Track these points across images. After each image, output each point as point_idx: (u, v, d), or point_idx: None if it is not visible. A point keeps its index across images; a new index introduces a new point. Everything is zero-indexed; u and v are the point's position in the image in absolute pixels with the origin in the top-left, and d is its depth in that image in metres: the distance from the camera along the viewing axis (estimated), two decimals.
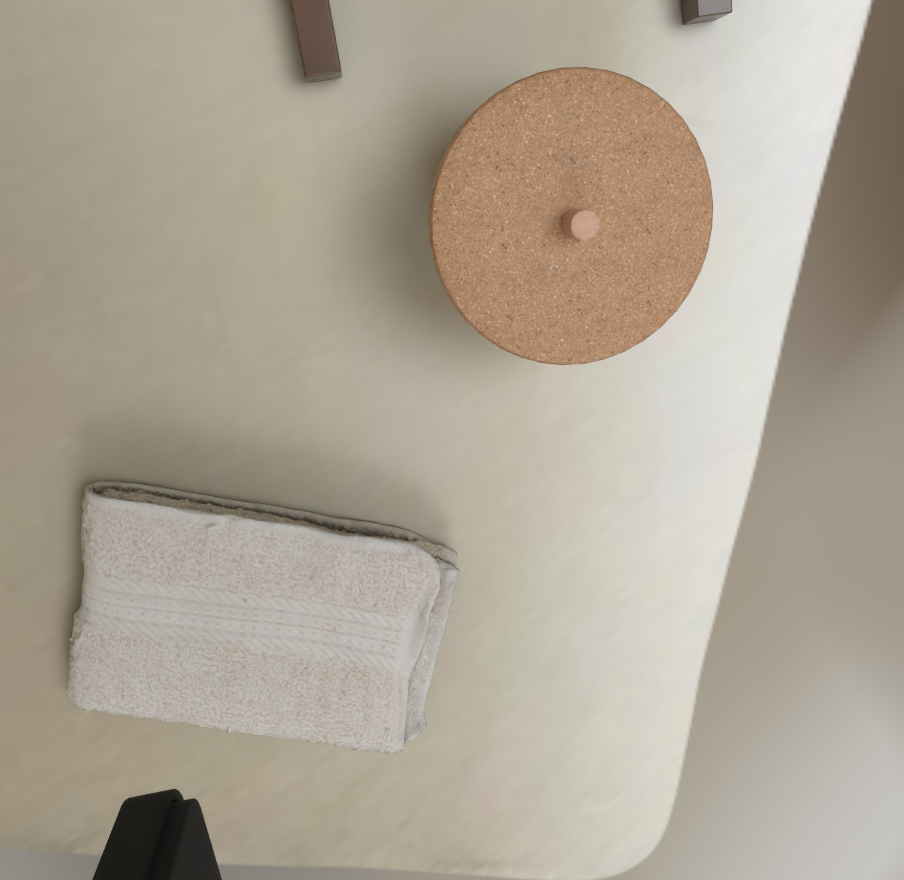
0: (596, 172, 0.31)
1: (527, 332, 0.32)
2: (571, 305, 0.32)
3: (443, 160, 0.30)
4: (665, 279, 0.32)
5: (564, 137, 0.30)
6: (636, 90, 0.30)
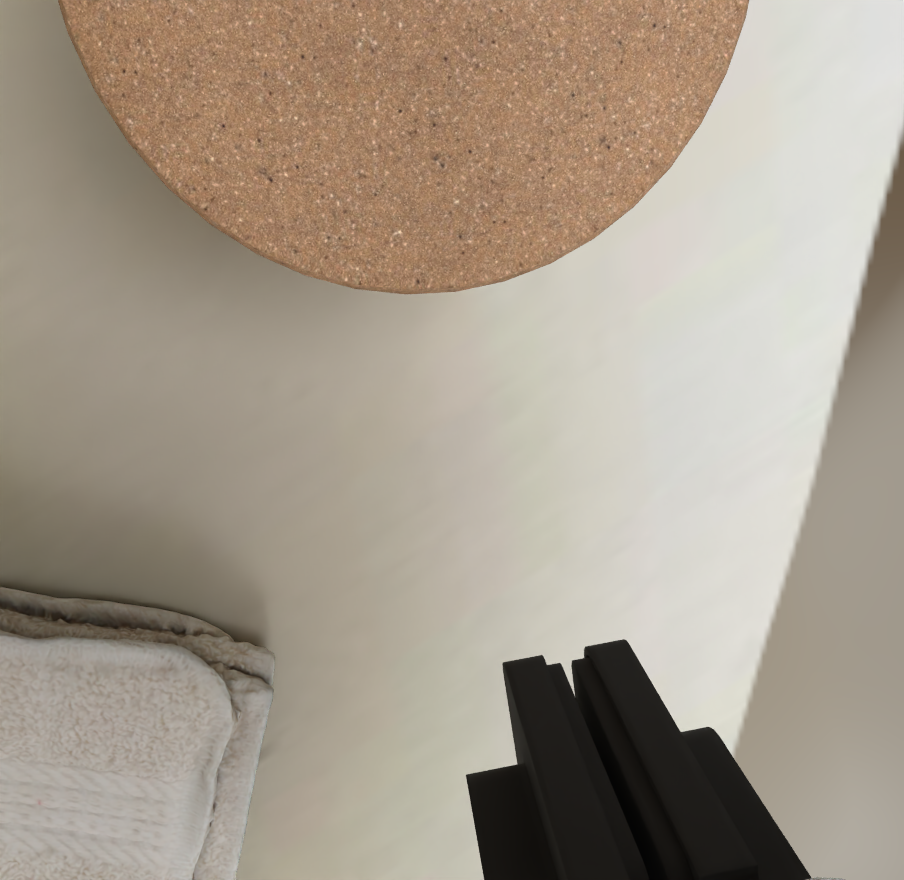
0: None
1: (312, 212, 0.13)
2: (416, 144, 0.13)
3: None
4: (645, 83, 0.13)
5: None
6: None
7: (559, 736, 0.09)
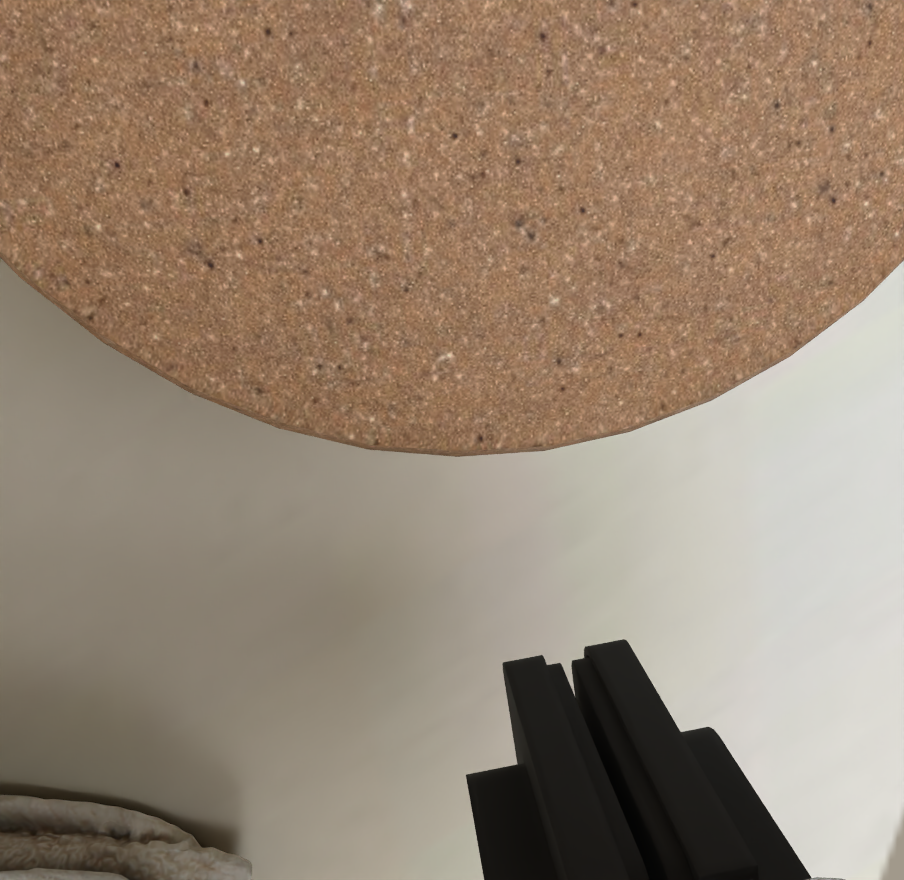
0: None
1: (290, 322, 0.07)
2: (484, 197, 0.07)
3: None
4: None
5: None
6: None
7: (559, 736, 0.09)
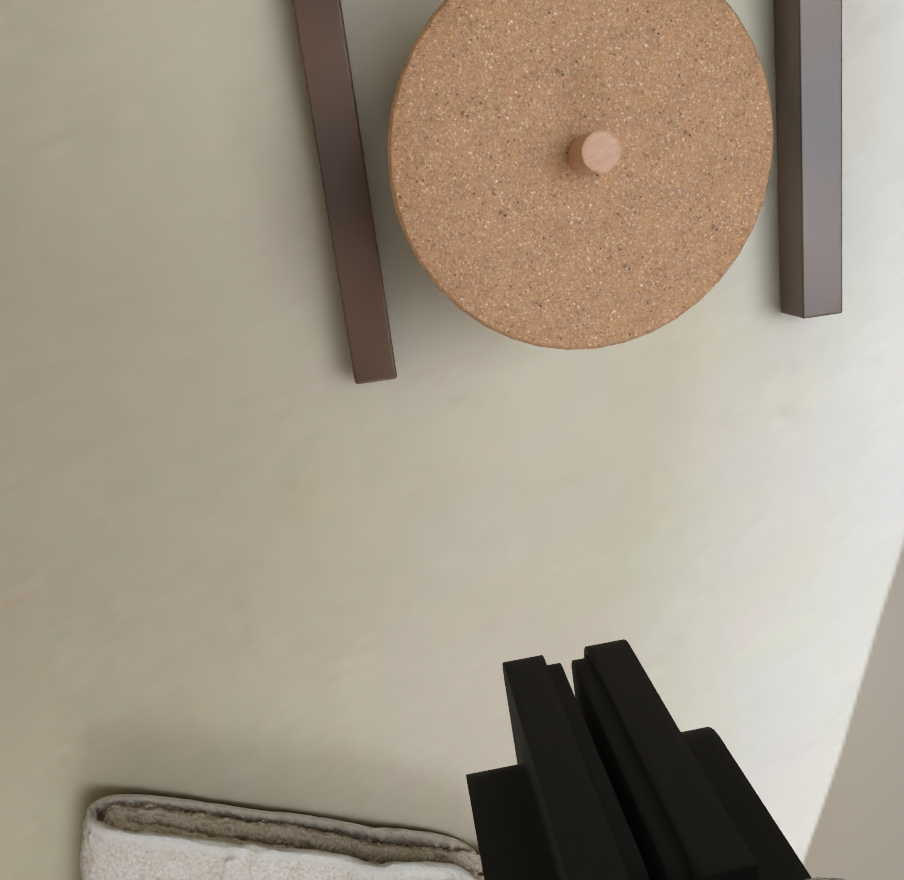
0: (596, 77, 0.22)
1: (565, 315, 0.24)
2: (613, 262, 0.24)
3: (390, 127, 0.22)
4: (728, 190, 0.23)
5: (539, 44, 0.22)
6: None
7: (559, 736, 0.09)
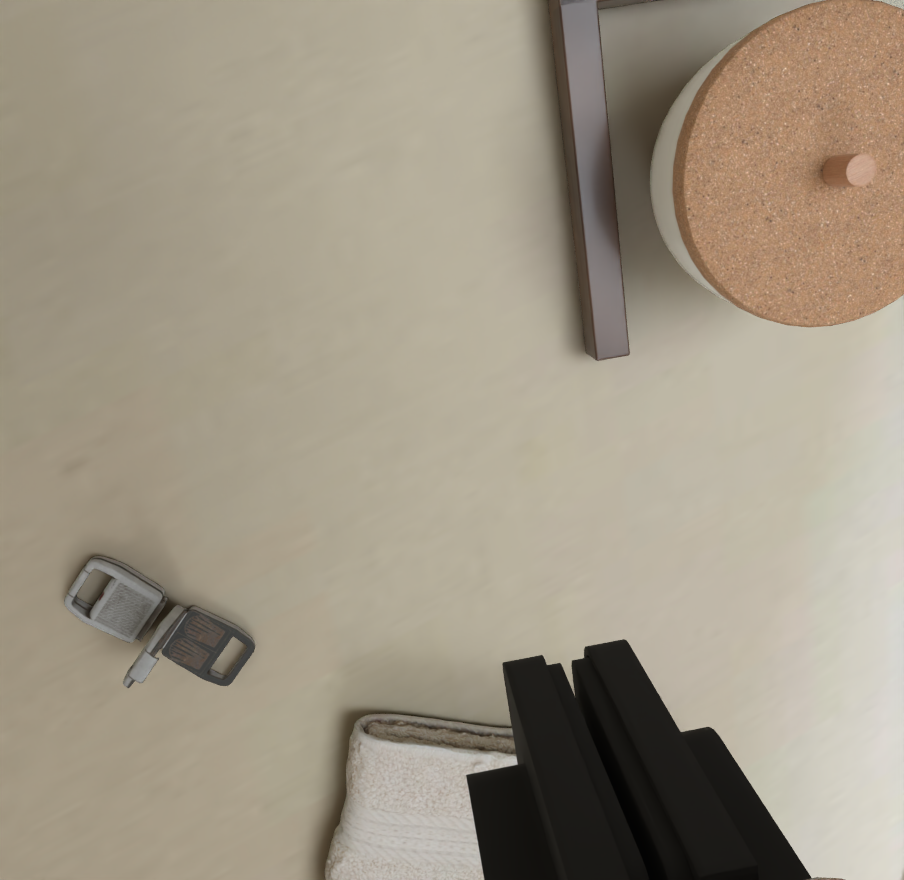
0: (847, 110, 0.28)
1: (812, 299, 0.30)
2: (852, 256, 0.30)
3: (683, 153, 0.28)
4: None
5: (805, 85, 0.28)
6: (869, 9, 0.27)
7: (559, 736, 0.09)
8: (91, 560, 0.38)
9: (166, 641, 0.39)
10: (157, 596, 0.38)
